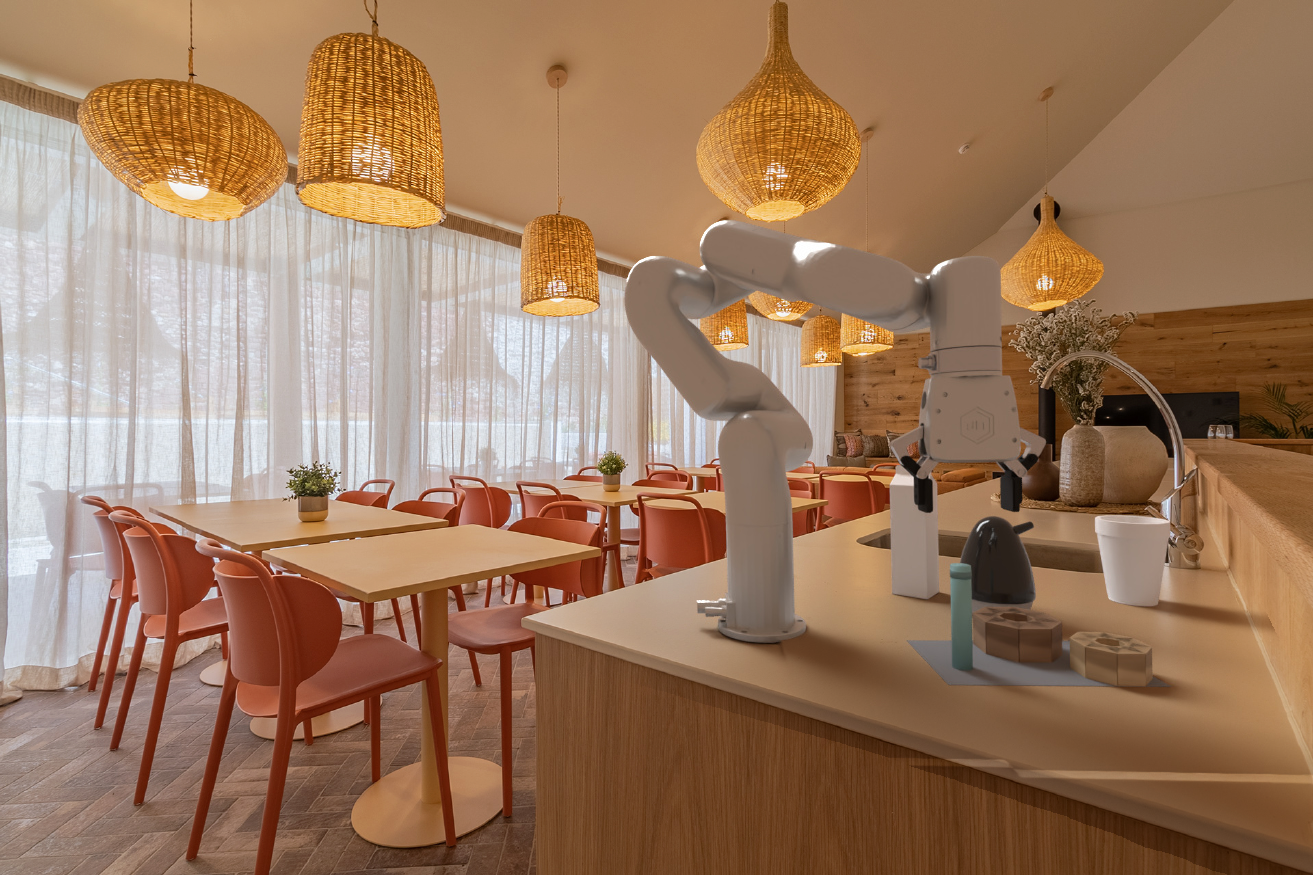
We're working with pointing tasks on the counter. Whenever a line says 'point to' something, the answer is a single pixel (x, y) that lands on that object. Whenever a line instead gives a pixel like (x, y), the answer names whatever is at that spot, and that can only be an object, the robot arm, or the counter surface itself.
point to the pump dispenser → (999, 565)
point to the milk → (913, 540)
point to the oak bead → (1111, 658)
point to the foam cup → (1133, 557)
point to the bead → (1017, 634)
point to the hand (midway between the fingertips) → (967, 510)
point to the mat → (1006, 668)
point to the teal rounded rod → (961, 616)
